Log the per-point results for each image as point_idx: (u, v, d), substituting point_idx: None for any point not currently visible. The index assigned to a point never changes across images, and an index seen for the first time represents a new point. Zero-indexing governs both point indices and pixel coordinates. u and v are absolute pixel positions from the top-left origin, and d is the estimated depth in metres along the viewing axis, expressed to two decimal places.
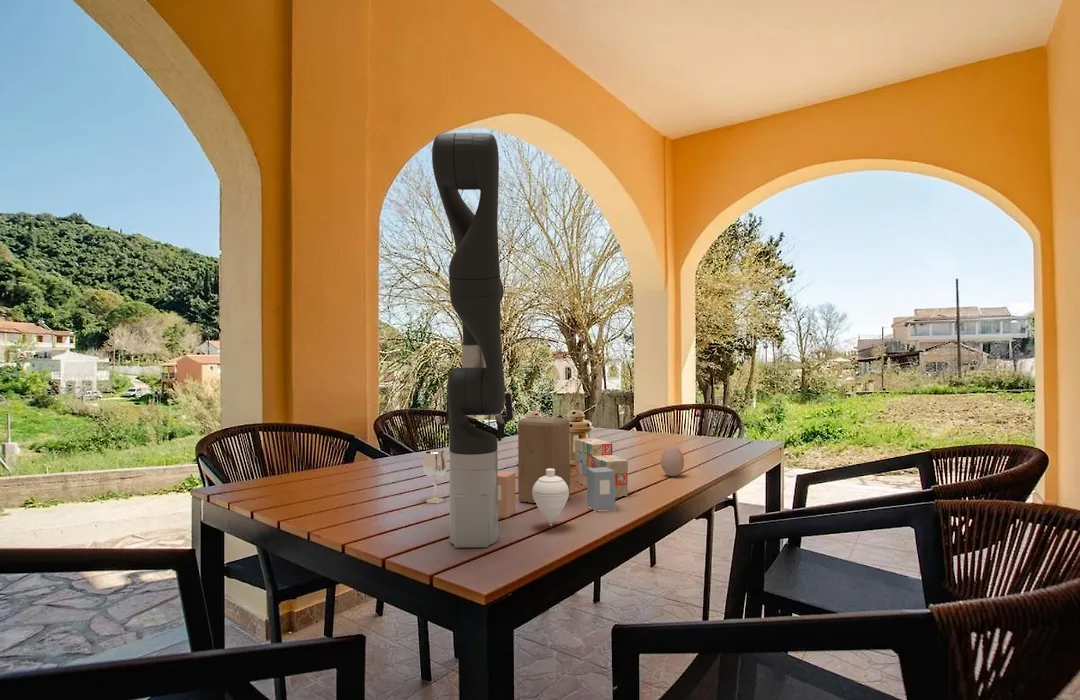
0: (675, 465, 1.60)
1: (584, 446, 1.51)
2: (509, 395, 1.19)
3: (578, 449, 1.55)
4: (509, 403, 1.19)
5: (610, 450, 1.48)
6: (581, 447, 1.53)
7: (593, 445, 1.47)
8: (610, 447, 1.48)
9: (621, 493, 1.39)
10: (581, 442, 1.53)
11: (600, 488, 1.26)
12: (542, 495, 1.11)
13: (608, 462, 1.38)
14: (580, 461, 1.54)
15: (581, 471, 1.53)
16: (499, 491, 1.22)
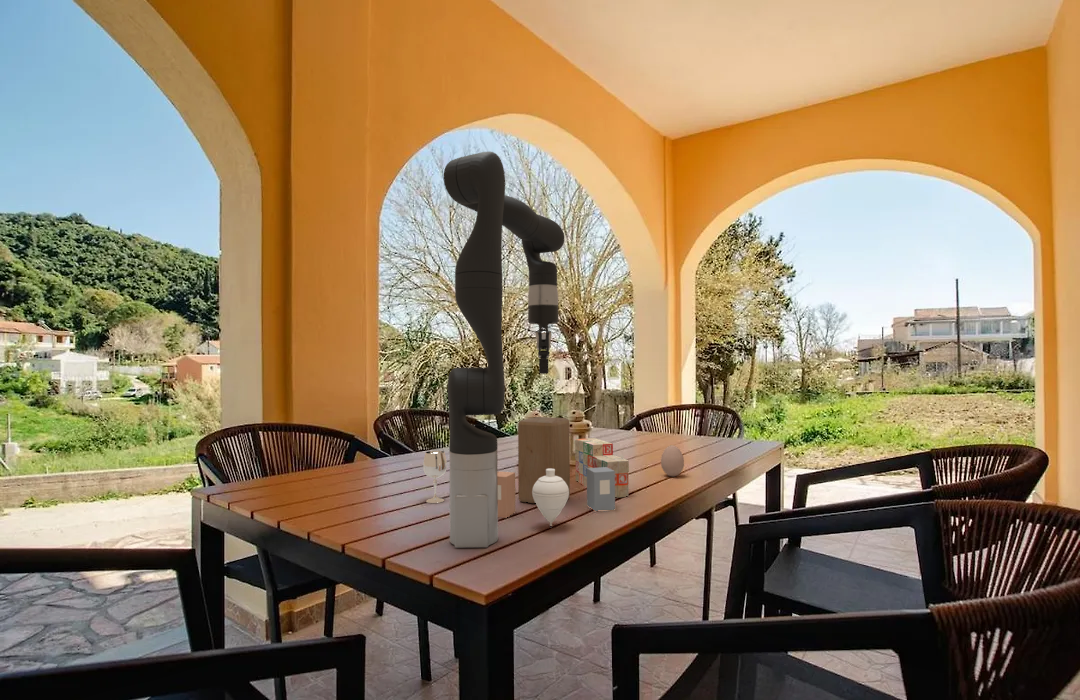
0: (675, 465, 1.60)
1: (584, 446, 1.51)
2: None
3: (578, 449, 1.55)
4: None
5: (611, 450, 1.48)
6: (581, 447, 1.53)
7: (594, 445, 1.46)
8: (611, 447, 1.48)
9: (622, 493, 1.39)
10: (581, 442, 1.53)
11: (600, 488, 1.26)
12: (542, 495, 1.11)
13: (609, 462, 1.38)
14: (580, 461, 1.54)
15: (581, 471, 1.53)
16: (499, 491, 1.22)
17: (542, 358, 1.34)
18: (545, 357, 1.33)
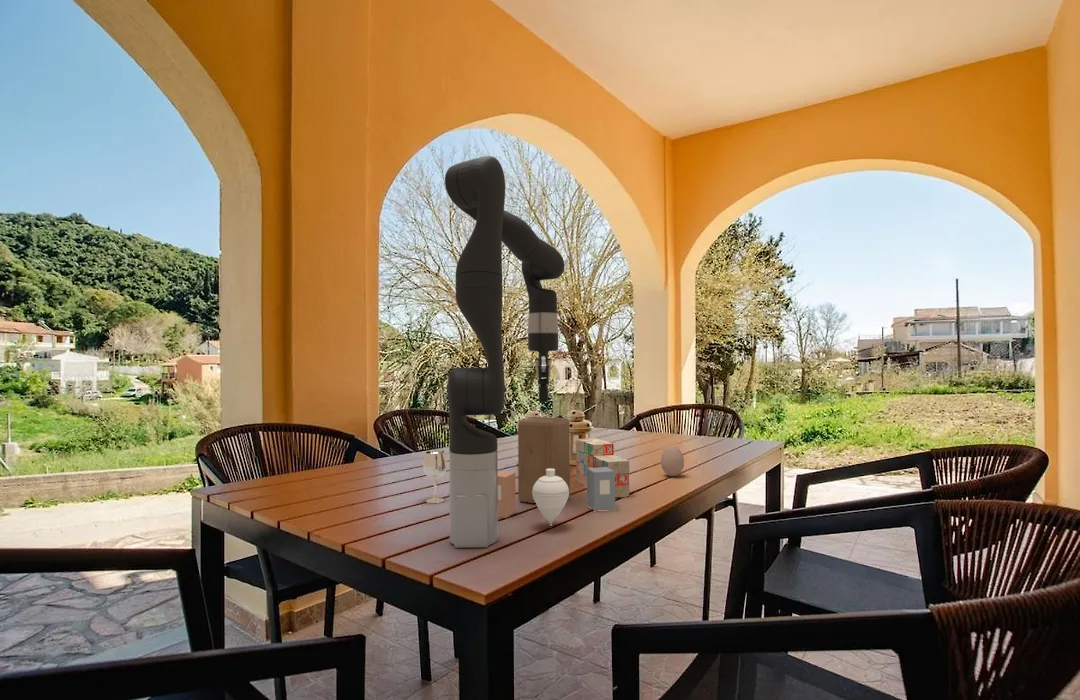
0: (675, 465, 1.60)
1: (585, 446, 1.51)
2: None
3: (579, 449, 1.55)
4: None
5: (611, 450, 1.48)
6: (582, 447, 1.53)
7: (594, 445, 1.46)
8: (611, 447, 1.48)
9: (622, 493, 1.39)
10: (582, 442, 1.53)
11: (600, 488, 1.26)
12: (542, 495, 1.11)
13: (610, 462, 1.38)
14: (581, 461, 1.54)
15: (582, 471, 1.53)
16: (499, 491, 1.22)
17: (542, 387, 1.36)
18: (545, 386, 1.35)
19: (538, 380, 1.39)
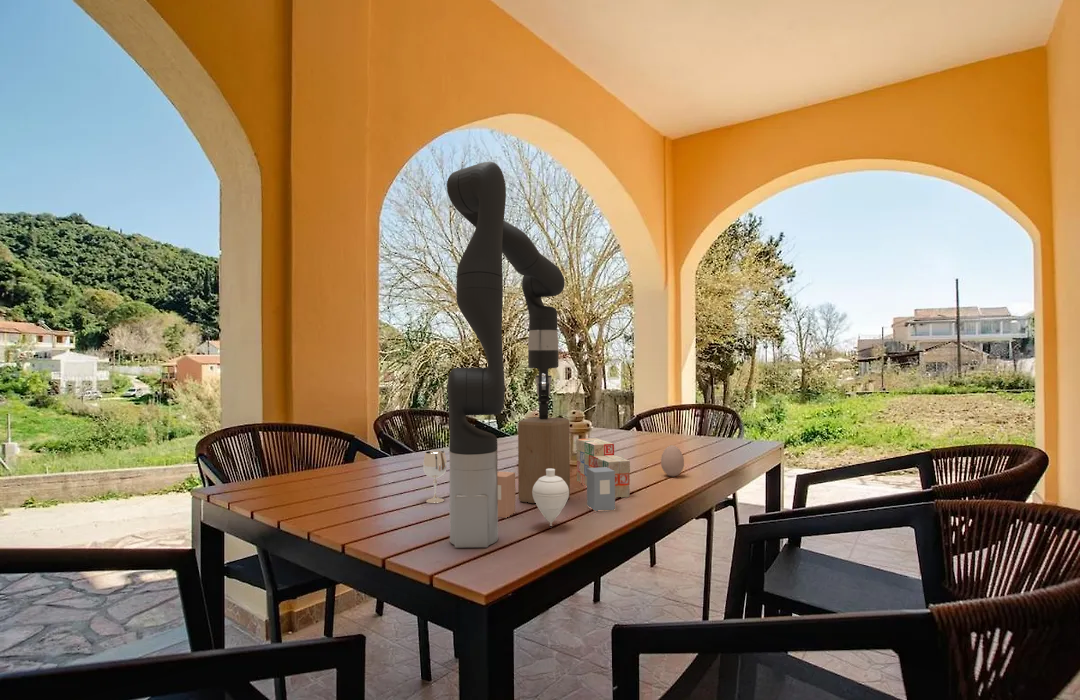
0: (675, 465, 1.60)
1: (586, 446, 1.51)
2: None
3: (580, 449, 1.55)
4: None
5: (612, 450, 1.48)
6: (583, 447, 1.53)
7: (595, 445, 1.46)
8: (612, 447, 1.48)
9: (623, 493, 1.39)
10: (583, 442, 1.53)
11: (600, 488, 1.26)
12: (542, 495, 1.11)
13: (610, 462, 1.38)
14: (581, 461, 1.54)
15: (583, 471, 1.53)
16: (499, 491, 1.22)
17: (542, 404, 1.36)
18: (545, 403, 1.35)
19: (538, 397, 1.39)
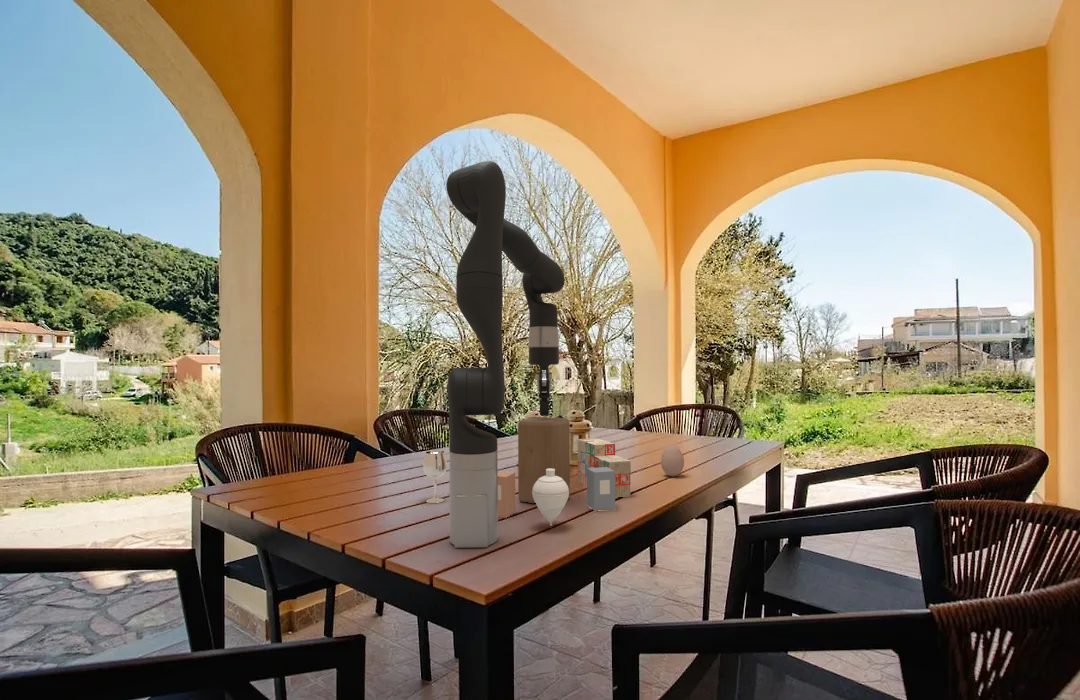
0: (675, 465, 1.60)
1: (587, 446, 1.51)
2: None
3: (581, 449, 1.55)
4: None
5: (613, 450, 1.48)
6: (584, 447, 1.53)
7: (596, 445, 1.46)
8: (613, 447, 1.48)
9: (624, 493, 1.39)
10: (584, 442, 1.53)
11: (600, 488, 1.26)
12: (542, 495, 1.11)
13: (611, 462, 1.38)
14: (582, 461, 1.54)
15: (584, 471, 1.53)
16: (499, 491, 1.22)
17: (542, 401, 1.36)
18: (545, 400, 1.35)
19: None
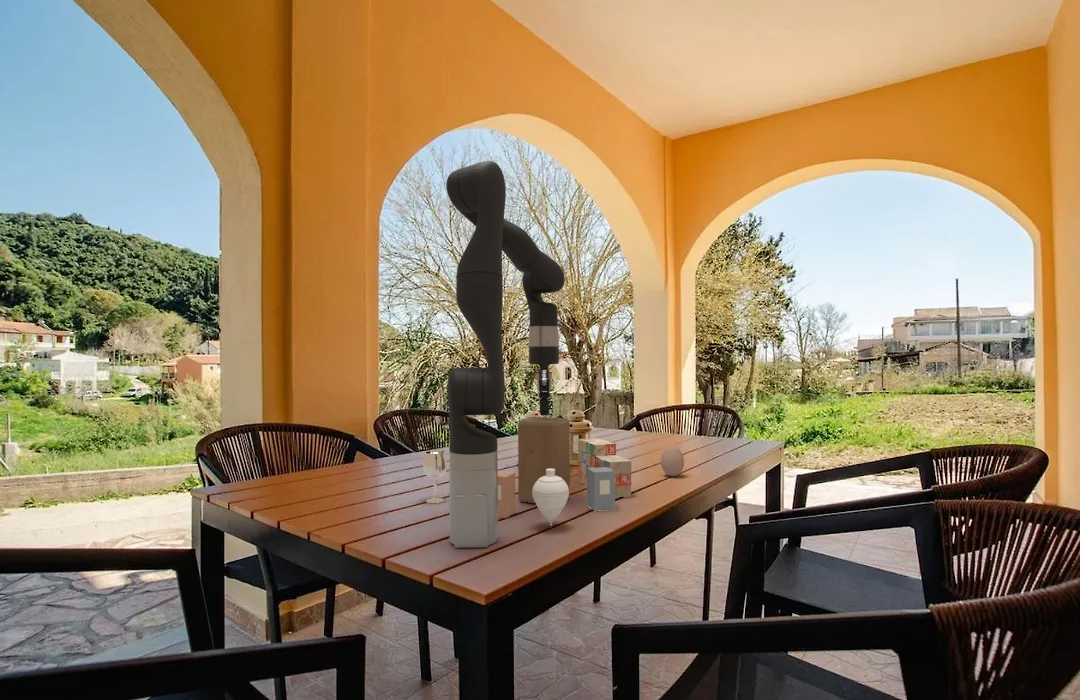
0: (675, 465, 1.60)
1: (587, 446, 1.51)
2: None
3: (581, 449, 1.55)
4: None
5: (613, 450, 1.48)
6: (584, 447, 1.53)
7: (596, 445, 1.46)
8: (613, 447, 1.48)
9: (625, 493, 1.38)
10: (584, 442, 1.53)
11: (600, 488, 1.26)
12: (542, 495, 1.11)
13: (612, 462, 1.38)
14: (583, 461, 1.54)
15: (584, 471, 1.53)
16: (499, 491, 1.22)
17: (543, 400, 1.36)
18: (545, 399, 1.35)
19: None
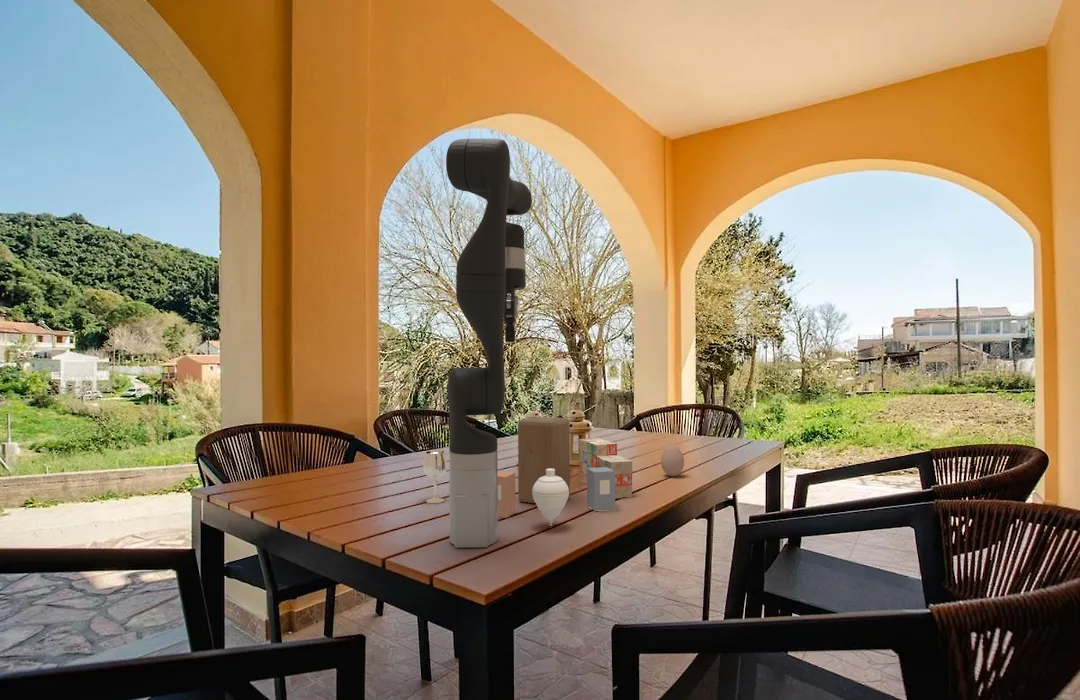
0: (675, 465, 1.60)
1: (588, 446, 1.51)
2: None
3: (582, 449, 1.55)
4: None
5: (615, 450, 1.48)
6: (585, 447, 1.53)
7: (597, 445, 1.46)
8: (615, 447, 1.48)
9: (625, 493, 1.38)
10: (585, 442, 1.53)
11: (600, 488, 1.26)
12: (542, 495, 1.11)
13: (612, 462, 1.38)
14: (584, 461, 1.54)
15: (585, 471, 1.52)
16: (499, 491, 1.22)
17: (508, 325, 1.30)
18: (511, 324, 1.30)
19: None
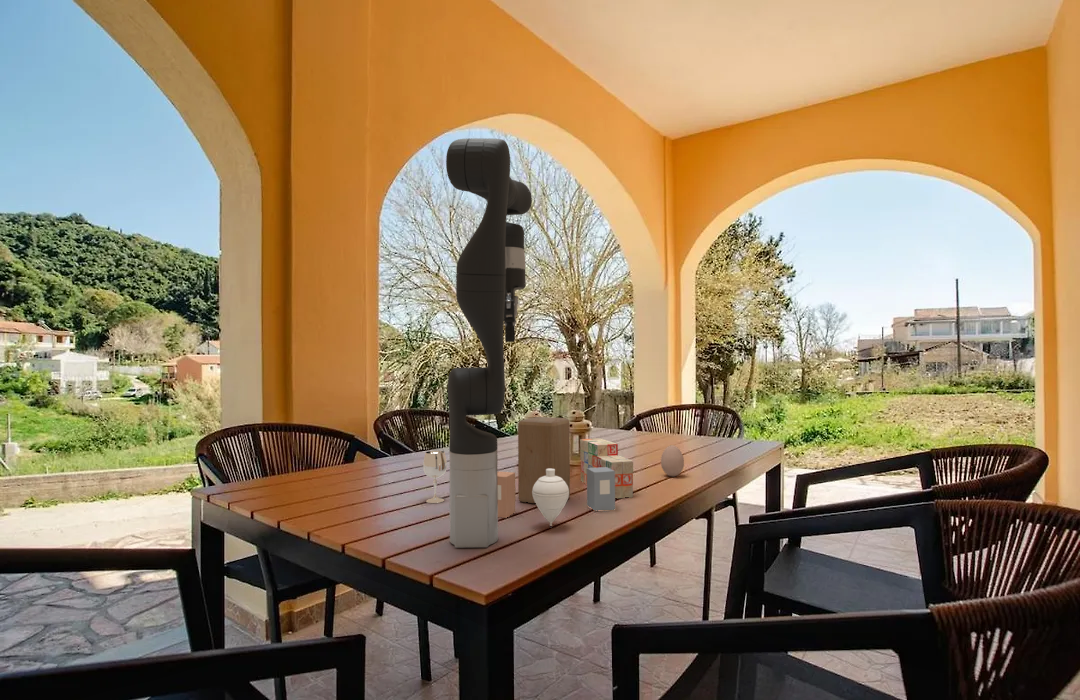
0: (675, 465, 1.60)
1: (589, 446, 1.51)
2: None
3: (583, 449, 1.55)
4: None
5: (615, 450, 1.48)
6: (586, 447, 1.53)
7: (598, 445, 1.46)
8: (615, 447, 1.48)
9: (626, 493, 1.38)
10: (586, 442, 1.53)
11: (600, 488, 1.26)
12: (542, 495, 1.11)
13: (613, 463, 1.37)
14: (585, 461, 1.53)
15: (586, 471, 1.52)
16: (499, 491, 1.22)
17: (508, 325, 1.30)
18: (511, 324, 1.30)
19: None
